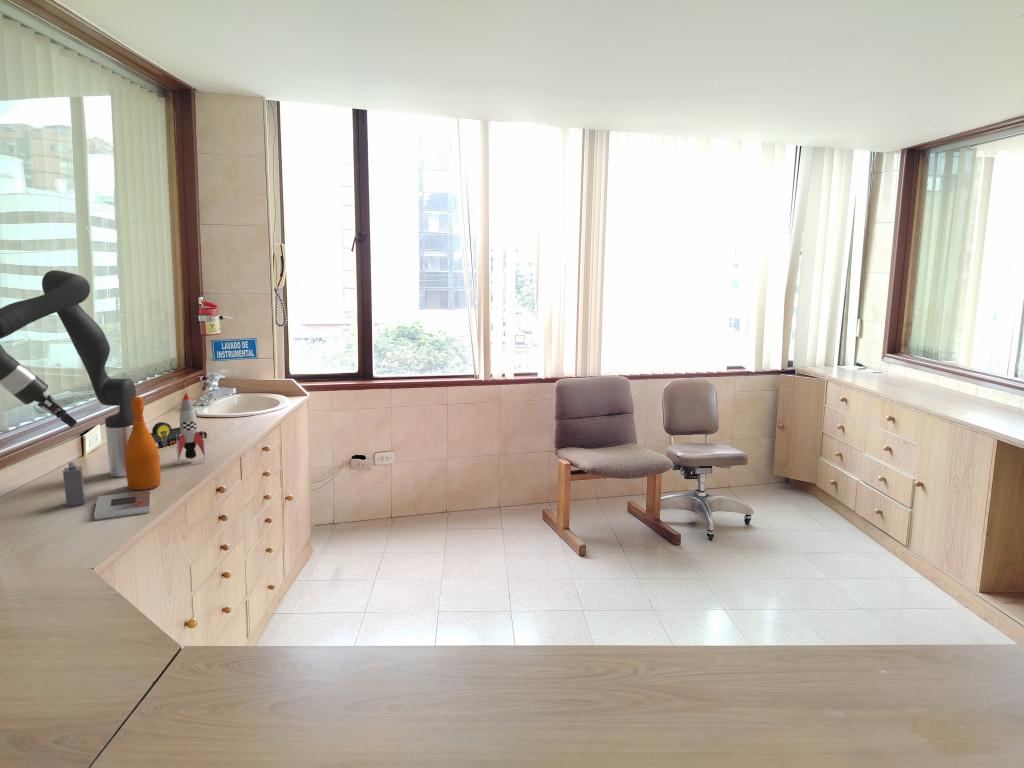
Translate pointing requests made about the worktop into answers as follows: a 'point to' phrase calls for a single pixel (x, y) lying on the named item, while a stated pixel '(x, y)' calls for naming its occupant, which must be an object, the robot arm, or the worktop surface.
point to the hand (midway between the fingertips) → (71, 422)
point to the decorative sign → (168, 434)
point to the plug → (74, 485)
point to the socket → (122, 504)
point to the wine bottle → (141, 453)
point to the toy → (189, 430)
